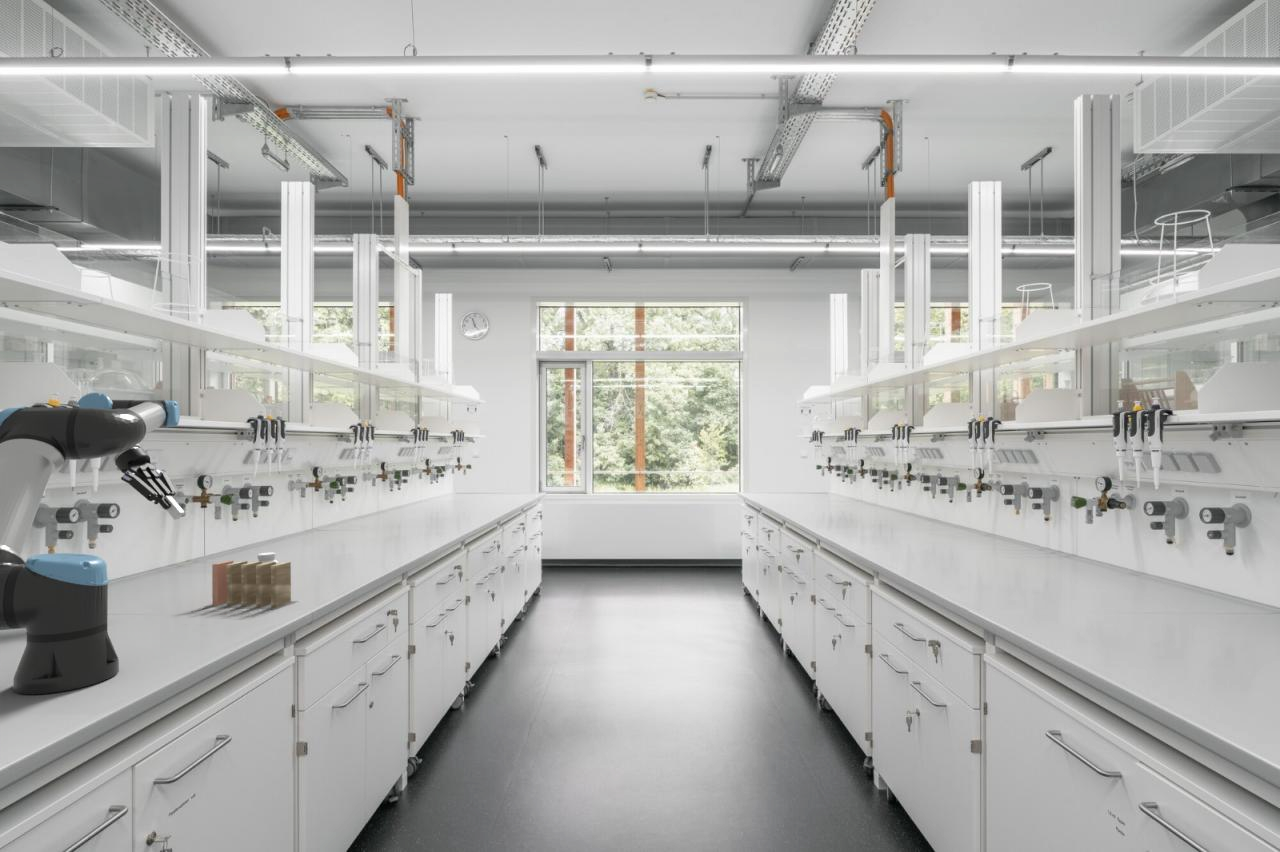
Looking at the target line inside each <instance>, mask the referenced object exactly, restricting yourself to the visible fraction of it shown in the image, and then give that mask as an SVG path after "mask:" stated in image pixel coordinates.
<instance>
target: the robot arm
mask: <svg viewBox="0 0 1280 852" xmlns="http://www.w3.org/2000/svg"><path fill="white" fill-rule="evenodd" d="M77 405H79V406H80V408H77V407H56V406H55V407H51V406H49V407H45V406H44V407H43V406H35V407H34V406H20V407H8V408H5V409H3V410H1V411H0V631H7V630H9V631H10V630H18V629H20V630H21V629H26V631H25V632H26V645H25V648H24V650H23V653H22V655H21V658H20V661H19V663H18V666H17V668H16V671H15V673H14V676H13V688H12V689H13V691H14V692H15V693H17V694H21V695H22V694H23V695H42V694H45V695H46V694H53V693H58V692H59V693H61V692H65V691H66V692H67V691H71V690H77V689H80V688H84V687H88V686H92V685H95V684H98V683H101V682H104V681H106V679H107V680H109V679H110V678H114V677H115V676H116V675H117V674H118V673H119V672H120V671H119V670H120V660H119V657H118V653H116V650H115V647H114V645H113V643H112V641H111V639H110V636H109V632H108V609H109V608H108V605H109V604H108V603H109V602H108V595H109V593H108V592H109V591H108V590H109V588H108V586H109V585H108V584H109V579H108V578H109V577H108V569H107V562H106V561H105V559H103V558H102V557H100V556H97V555H92V554H84V553H70V552H69V553H67V552H65V553H64V552H62V553H60V552H58V553H41V554H35V555H31V556H28V558H27V559H26V560H25V559H24V558H23V557H22V553H23V550H24V547H25V544H26V542H27V539H28V537H29V535H30V531H31V529H32V526H33V523H34V520H35V518H36V515H37V512H38V510H39V507H40V503H41V501H42V499H43V496H44V495H45V494H44V493H45V490H46V488H47V485H48V482H49V479H50V477H51V476H53V475H55V474H56V473H58V472H59V471H60V470H62V468H63V467H64V464H65V461H67V460H68V461H70V460H92V459H93V460H94V459H99V458H103V457H104V458H105V457H109V459H110V460H111V461H112V462H113V463H114V464H115V466H116V467H117V468H118V469H119V471H120V472H121V473H122V474H123V475H122V476H121V477H120V480H122V482H125V483H127V484H128V485H130V486H131V487H132V488H133V489H134V490H136V491H137V492H138V493H139V494H140V495H141V496H143V497H144V498H145V499H146V500H147V501H149V502H153V501H154V502H153V504H155V505H158V504H160V506H161V507H162V508H163V509H164V510H166V511H167V513H168V514H169V516H170V517H171V518H172V519H173V520H174V521H175V520H180V518H181V517H182V516H183V515H184V514H185V510H184V509H183V508H182V507H181V506H180V504H179V503H178V502H177V500H176V499H175V498H174V496H175V495H177V490H176V489H175V486H174V485H173V483H172V481H171V479H170V477H169V476H168V470H167V469H164V468H163V469H161V470H160V469H157V467H156V466H155V465H154V464H152V463H151V457H150V455H148V453H147V451H146V450H144V449H143V448H142V446H141V445H140V443H141V442H142V441H143V440H144V438H145V436H146V435H147V434H149V433H151V432H153V431H154V430H156V429H158V428H171V427H173V428H174V427H177V426H178V425H179V423H180V418H181V416H180V415H181V414H180V406H179V403H178V402H177V401H175V400H169V399H168V400H166V399H158V400H155V399H143V400H142V399H140V400H139V399H138V400H137V399H136V400H135V399H111V398H110V397H109V396H108V395H107V394H105V393H101V392H89V393H87V394H85V395H83V396H81V398H80V399H78V401H77V404H76V406H77Z"/></svg>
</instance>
